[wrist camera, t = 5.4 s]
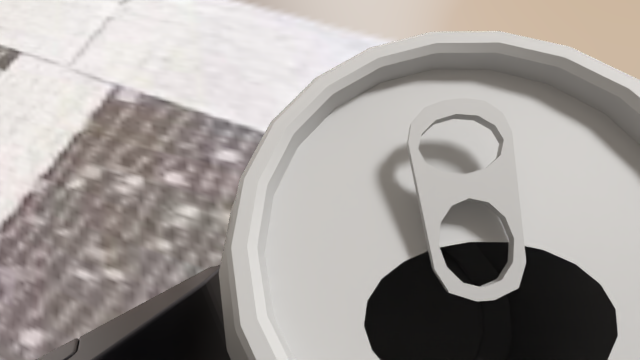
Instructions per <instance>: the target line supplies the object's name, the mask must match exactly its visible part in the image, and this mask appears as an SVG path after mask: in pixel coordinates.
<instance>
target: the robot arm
mask: <svg viewBox="0 0 640 360" xmlns="http://www.w3.org/2000/svg"><path fill="white" fill-rule="evenodd" d="M219 269H220V265H218V266H214V267H210V268H207V269H206V270H204V271H202V272H200V273H198V274H196V275H194V276H193V277H191V278H189V279H187V280H185V281H183V282H181V283H180V284H178V285H176V286H174V287H172V288H170V289H168V290H167V291H165V292H163V293H161V294H159V295H157V296H155V297H154V298H152V299H150V300H148V301H146V302H144V303H142V304H141V305H139V306H137V307H135V308H133V309H131V310H129V311H127V312H126V313H124V314H122V315H120V316H118V317H116V318H114V319H113V320H111V321H109V322H107V323H105V324H103V325H101V326H100V327H98V328H96V329H94V330H92V331H90V332H88V333H87V334H85V335H83V336H81V337H80V338H79V339H74V340H72V341H70V342H68V343H66V344H65V345H63V346H61V347H59V348H57V349H55V350H53V351H51V352H49V353H48V354H46V355H44V356H42V357H40V358H38V359H36V360H231V359H230V356H229V354H228V352H227V348H226V338H225V329H224V319H223V310H222V300H221V291H220V281H219Z"/></svg>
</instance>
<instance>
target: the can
mask: <svg viewBox="0 0 640 360" xmlns="http://www.w3.org/2000/svg"><path fill="white" fill-rule="evenodd" d="M219 281H220V291H221V300H222V310H223V319H224V329H225V338H226V348H227V352H228V354H229V356H230V359H231V360H640V80H639V79H636V78H634V77H633V76H630V75H628V74H626V73H624V72H622V71H620V70H617V69H616V68H614V67H611V66H609V65H607V64H605V63H603V62H601V61H599V60H596V59H595V58H593V57H590V56H588V55H586V54H584V53H582V52H580V51H578V50H576V49H574V48H572V47H569V46H565V45H560V44H555V43H551V42H546V41H541V40H537V39H533V38H528V37H524V36H519V35H515V34H510V33H506V32H501V31H473V32H472V31H464V32H430V33H426V34H422V35H418V36H414V37H410V38H406V39H402V40H398V41H394V42H390V43H387V44H383V45H379V46H375V47H371V48H369V49H367V50H365V51H363V52H361V53H360V54H358V55H356V56H354V57H352V58H351V59H349V60H347V61H345V62H343V63H342V64H340V65H338V66H336V67H334V68H332V69H331V70H329V71H327V72H325V73H323V74H322V75H320V76H318V77H316V78H315V79H314V80H313V81H312V82H311V83H310V84H309V85H308V86H307V87H306V88H305V89H304V90H303V91H302V92H301V93H300V94H299V95H298V96H297V97H296V98H295V99H294V100H293V101H292V102H291V103H290V104H289V105H288V106H287V107H286V108H285V109H284V110H283V111H282V112H281V113H280V114H279V115H278V116H277V117H275V118H274V119H273V120H272V121H271V123H270V125H269V126H268V128H267V130H266V132H265V134H264V136H263V137H262V139H261V141H260V143H259V145H258V147H257V148H256V150H255V152H254V154H253V156H252V158H251V160H250V161H249V163H248V165H247V167H246V169H245V171H244V172H243V174H242V176H241V178H240V180H239V185H238V190H237V195H236V199H235V201H234V203H233V205H232V208H231V213H230V219H229V224H228V229H227V234H226V239H225V244H224V249H223V254H222V259H221V264H220V269H219Z"/></svg>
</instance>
